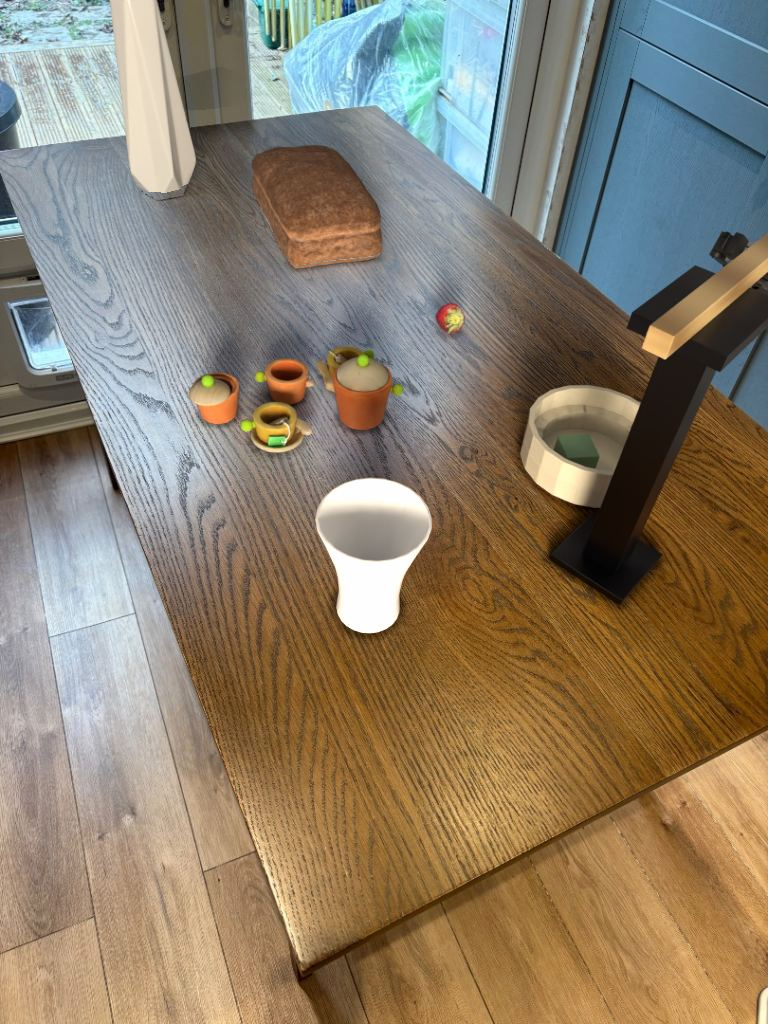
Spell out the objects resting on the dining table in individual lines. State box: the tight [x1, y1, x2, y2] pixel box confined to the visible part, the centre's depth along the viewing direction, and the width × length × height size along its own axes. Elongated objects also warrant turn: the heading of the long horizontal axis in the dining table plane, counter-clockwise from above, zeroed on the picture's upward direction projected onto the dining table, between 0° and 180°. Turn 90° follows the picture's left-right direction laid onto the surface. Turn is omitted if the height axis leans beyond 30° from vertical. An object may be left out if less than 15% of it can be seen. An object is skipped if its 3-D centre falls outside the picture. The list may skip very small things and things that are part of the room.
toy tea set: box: [188, 345, 405, 453], centre depth 94 cm, size 26×16×10 cm, turn 116°
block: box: [554, 434, 600, 469], centre depth 91 cm, size 4×4×4 cm
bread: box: [251, 144, 383, 269], centre depth 129 cm, size 17×29×11 cm, turn 19°
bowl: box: [519, 384, 641, 509], centre depth 92 cm, size 16×16×6 cm
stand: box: [548, 264, 768, 606], centre depth 71 cm, size 11×9×32 cm
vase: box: [109, 0, 197, 193], centre depth 127 cm, size 12×12×33 cm
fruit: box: [435, 302, 466, 335], centre depth 111 cm, size 4×6×5 cm
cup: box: [314, 477, 433, 634], centre depth 72 cm, size 10×10×14 cm
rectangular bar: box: [641, 232, 768, 359], centre depth 60 cm, size 24×2×2 cm, turn 138°
